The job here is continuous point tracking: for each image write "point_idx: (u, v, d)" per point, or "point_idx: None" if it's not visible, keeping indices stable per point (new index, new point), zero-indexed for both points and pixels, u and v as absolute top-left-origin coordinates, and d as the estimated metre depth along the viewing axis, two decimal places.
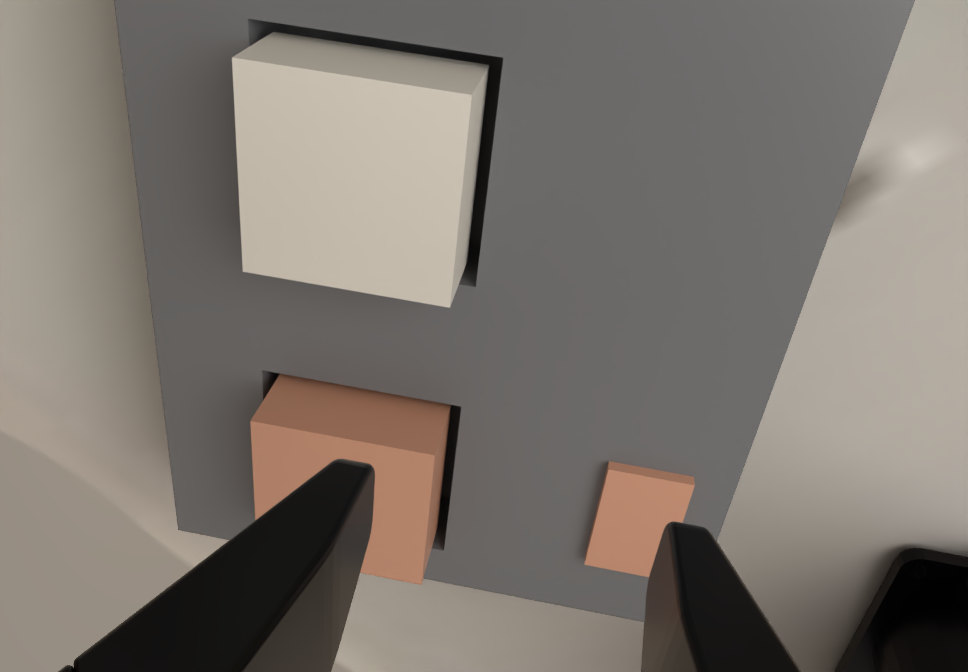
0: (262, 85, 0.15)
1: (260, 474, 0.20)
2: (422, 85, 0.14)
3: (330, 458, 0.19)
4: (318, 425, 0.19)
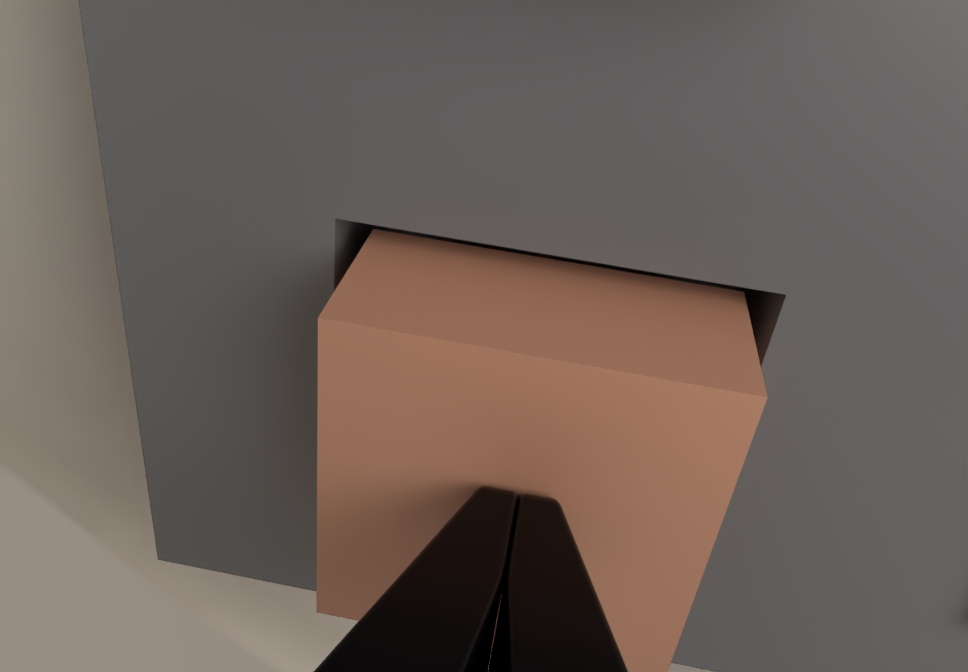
0: None
1: (333, 446, 0.09)
2: None
3: (504, 406, 0.08)
4: (476, 328, 0.08)
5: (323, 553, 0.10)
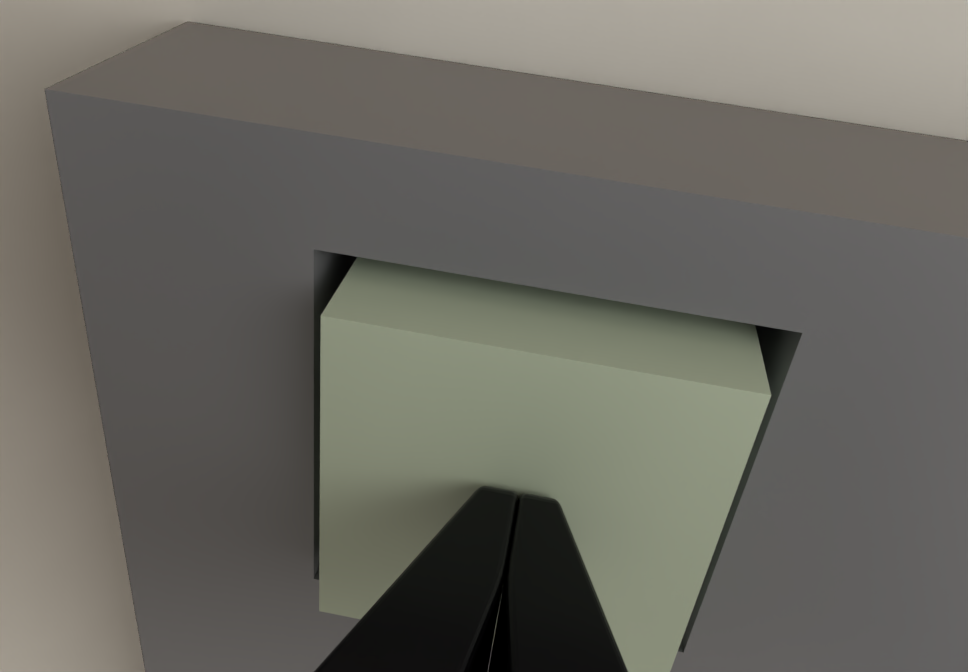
0: None
1: None
2: None
3: None
4: None
5: None
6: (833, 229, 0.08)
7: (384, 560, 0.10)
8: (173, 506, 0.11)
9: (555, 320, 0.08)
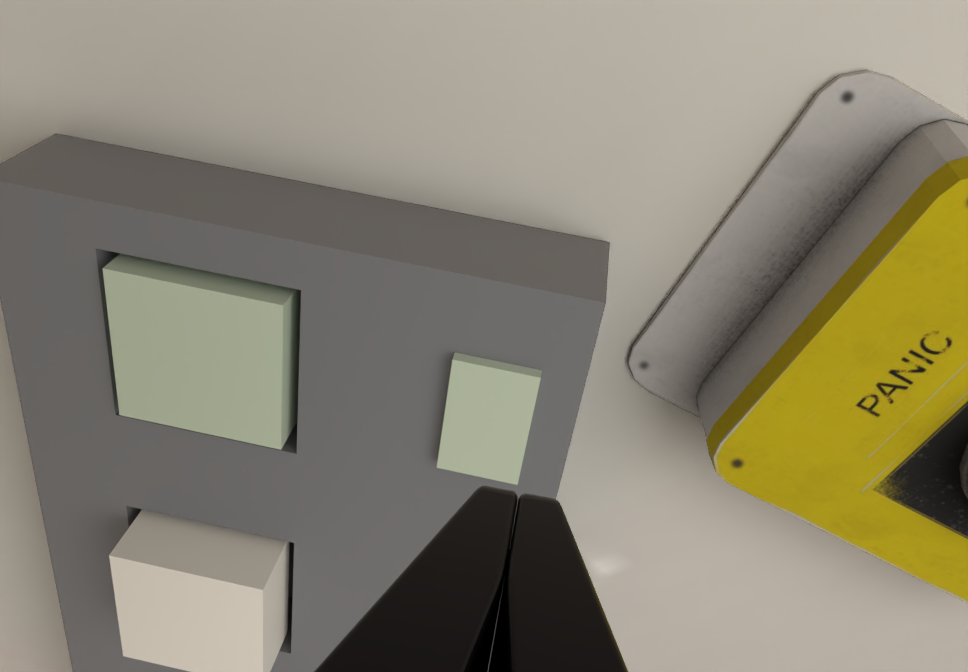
0: (129, 570, 0.22)
1: None
2: (232, 579, 0.22)
3: None
4: None
5: None
6: (304, 246, 0.18)
7: (144, 386, 0.21)
8: (43, 374, 0.21)
9: (208, 274, 0.19)
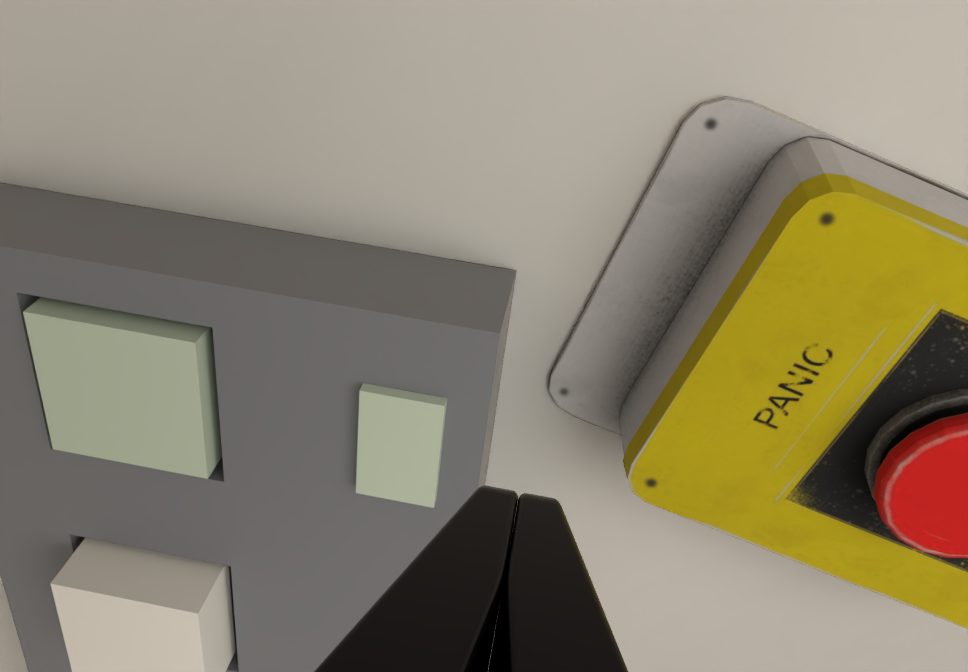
0: (70, 597, 0.23)
1: None
2: (169, 604, 0.23)
3: None
4: None
5: None
6: (212, 286, 0.19)
7: (73, 421, 0.21)
8: None
9: (125, 313, 0.20)
